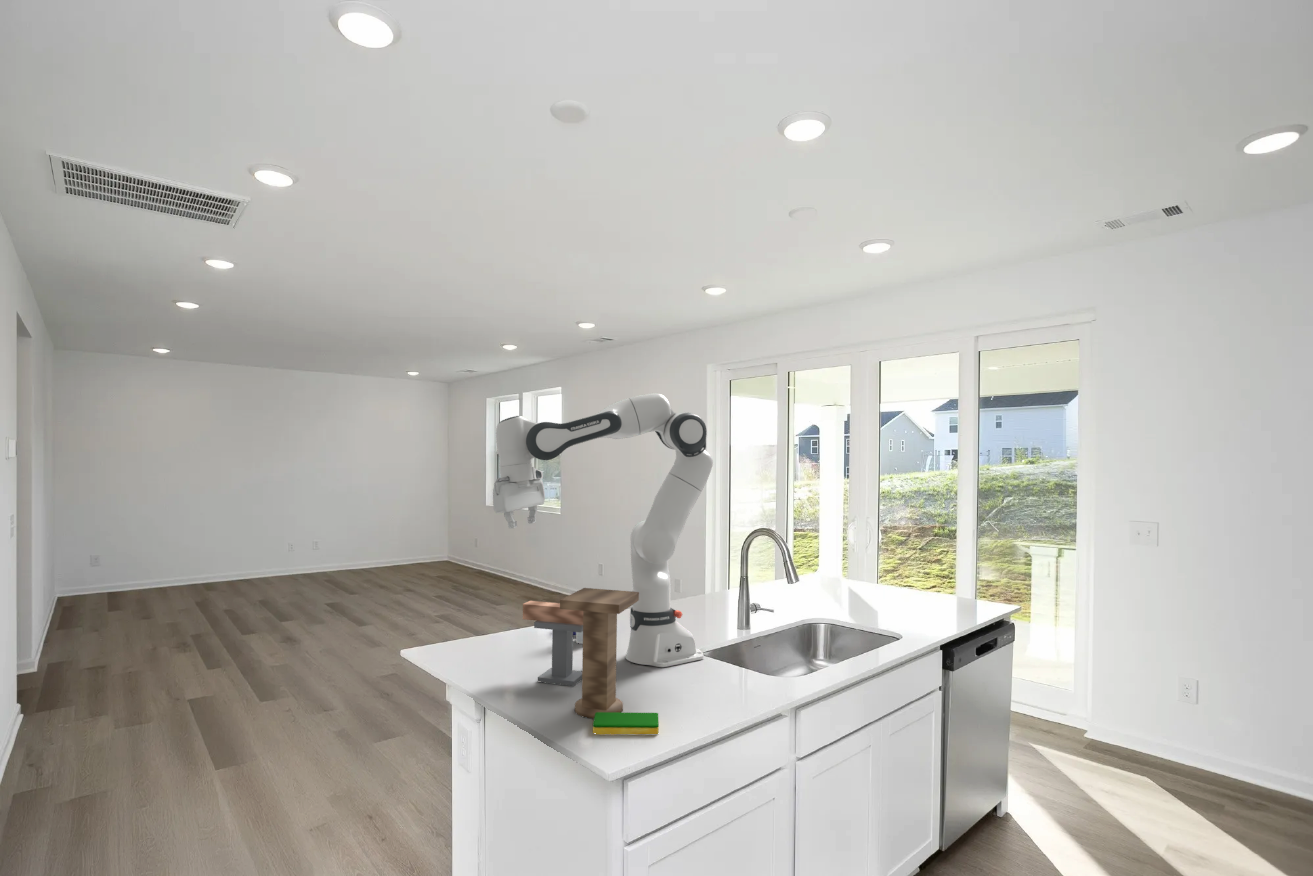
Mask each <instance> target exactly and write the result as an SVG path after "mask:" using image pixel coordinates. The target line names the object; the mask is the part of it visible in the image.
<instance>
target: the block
mask: <svg viewBox="0 0 1313 876" xmlns="http://www.w3.org/2000/svg"><path fill="white" fill-rule="evenodd" d="M522 620H525V621H526V620H527V621H534V622H535V621H545V622H556V623H567V624H577V625H583V611H579V610H567V609H560V602H549V601H548V602H546V601H537V600H529V601H526V602H524V603H522Z"/></svg>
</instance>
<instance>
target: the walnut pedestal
mask: <svg viewBox="0 0 1313 876" xmlns="http://www.w3.org/2000/svg"><path fill="white" fill-rule="evenodd" d="M637 601H639V592H632V591H631V590H630V591H629V590H618V589H617V590H616V589H605V588H602V589H601V588H591V587H583V588H581V589H579V590H577V591H575V592H572V593H571V594H569V595H566V596H565V597H563V598H560V599H559V603H560V609H567V610H579V611H583V644H582V664H581V665H582V670H581V671H582V680H581V698H579V699H578V700H576V702H575V703H574V712H575V714H576V713H577V714H576V715H578V716H579V715H580V717H582V716H583V718H585V717H587V718H586V719H590V718H592V719H591V720H594V717H595V713H596V712H624V710H623V709H624V703H623V701H622V700H621V699H619V698H618V697H616V696H617V650H618V649H617V645H618V644H617V642H618V641H617V639H618V638H617V637H618V636H617V633H618V629H617V628H618V615H619V614H621V613H623V612H624V611H626V610H627V609H628V608H631V607H632V605H633V604H634V603H636V602H637Z"/></svg>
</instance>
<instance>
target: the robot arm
mask: <svg viewBox="0 0 1313 876" xmlns="http://www.w3.org/2000/svg"><path fill="white" fill-rule="evenodd" d="M495 428H496V430H495V443H496V450H497V454H498V456H499V465H498V468H499V476H500V477H498V478H496V480H495V482H494V484H493V489H492V507H493V511H494V512H495V514H503V516H504V519H505V520H506V522H507V526H508V529H515V528H517V527H518V524H517V521H516V520H515V519H514V513H515V512H514V511H518V510H523V509H528V511H529V514H528V517H527V522H528V524H535V523H537V512H538V506H542V505H544V504H545V499H546V495H545V485H544V482H543V478H544V473H543V471H542V470H539V469H538V468H536V467H534V466H533V463H532V460H533V459H537V460H541V461H550V460H553V459H556V458H557V457H559V456H560V455H561V454H562V453H563V452H564V451H565V450H567V449H568V448H570V447H573V446H575V445H580V444H583V443H585V442H590V441H592V440H596V439H603V438H604V439H606V438H607V439H612V440H623V439H628V438H633V437H637V436H640V435H643V434H647V433H650V432H651V433H652V432H655V434H656V435H657V436H658V438H659V440H660V441H661V443H662V444H663V445H664V446H665V447H667V448H668V449H671V450H675V460H674V462H673V465H672V467H671V468H670V470H669V472H668V474H667V475H666V477H665V478H664V481H663V482H662V483H661V486H660V488H659V489H658V491H657V493H656V495H655V496H654V500H653V502H652V505H651V508H650V510H649V512H648V515H647V517H646V519H645V520H642V521H639V522H638V523H637V524H635V525H634V527H633V528H632V530H631V532H630V565H631V578H632V580H631V583H632V586H631V590H632V592H639V601H637V602H636V603H634V604H633V605H631V607H630V613H629V626H630V635H629V642H628V646H627V647H628V648H627V651H626V654H625V659H626V660H627V661H629V662H630V663H635V664H639V665H646V666H653V667H657V668H667V667H670V666H676V665H681V664H685V663H690V662H694V661H701V660H703V659H704V653H703V651H702V650H701V649H699V648H698V647H697V646H696V645H697V644H696V639H695V637H694V635H693V633H692V632H691V631H690V630H688V629H687V628H686V627H684V626H683V625H682V624H681V623H680V622H678V621H677V620H676V618H677V619H682V617H683V612H682V611H680V610H678V609H674V608H672V607H671V586H672V585H671V581H672V580H671V576H670V567H669V566H670V565H669V560H670V559H671V558H672V557H673V555H674V553H675V550H676V547H677V544H678V542H679V540H680V537H681V535H682V533H683V530H684V527H685V525H686V524H687V520H688V517H689V515H690V513H692V511H693V508H694V506H695V505H696V503H697V501H698V499H699V498H700V496H701V494H702V492H703V490H704V488H705V486H706V484H707V483H708V482H707V481H708V479H709V477H710V475H711V472H712V468H713V465H714V460H713V458H712V455H711V454H710V453H709V452H708V451H707V450H706V448H707V436H708V435H707V433H708V432H707V425H706V423H705V421H704V420H703V418H701V417H700V416H699V415H697V414H695V413H693V412H675V411H674V410H673V409H672V406H671V403H670V401H669V400H668V398H667V397H666V396H665V395H664V394H661V393H658V392H657V393H646V394H641V395H634V396H631V397H628V398H624V399H621V400H619V401H617V402H616V401H615V402H614V403H611V404H610V405H607V406H606V407H604V408H603V409H602V410H600V411H598V412H597V413H595V414H593V415H590V416H587V417H582V418H580V419H575V420H572V421H568V422H564V423H556V422H550V421H541V422H535V421H532V420H530V419H528V418H525V417H524V416H522V415H515V416H512V417H511V416H510V417H507V418H505V419H502V420H501V421H500V422H498V424H497V425H496V427H495Z"/></svg>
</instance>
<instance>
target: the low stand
mask: <svg viewBox="0 0 1313 876" xmlns="http://www.w3.org/2000/svg"><path fill="white" fill-rule="evenodd" d="M533 628H534V629H540V630H542V629H543V630H552V633H551V634H552V639H551V640H552V643H551V646H552V647H551V667H550V668H548V670H546V671H544V672H543V673H541V674H540V675H539V676H537V682H538V681H541V682H540V683H542V682H546V683H545V684H551V683H555V684H554V685H559V684H561V685H560V686H567V685H570V687H575V686H576V685H577V684H578V683H580V682H581V681H582V680H581V679H582V670H576V669H573V659H574V656H573V653H574V652H573V651H574V647H573V646H574V635H573V632H582V631H583V625H577V624H567V623H556V622H545V621H535V620H534V621H533ZM580 680H581V681H580ZM574 685H575V686H574Z"/></svg>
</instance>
